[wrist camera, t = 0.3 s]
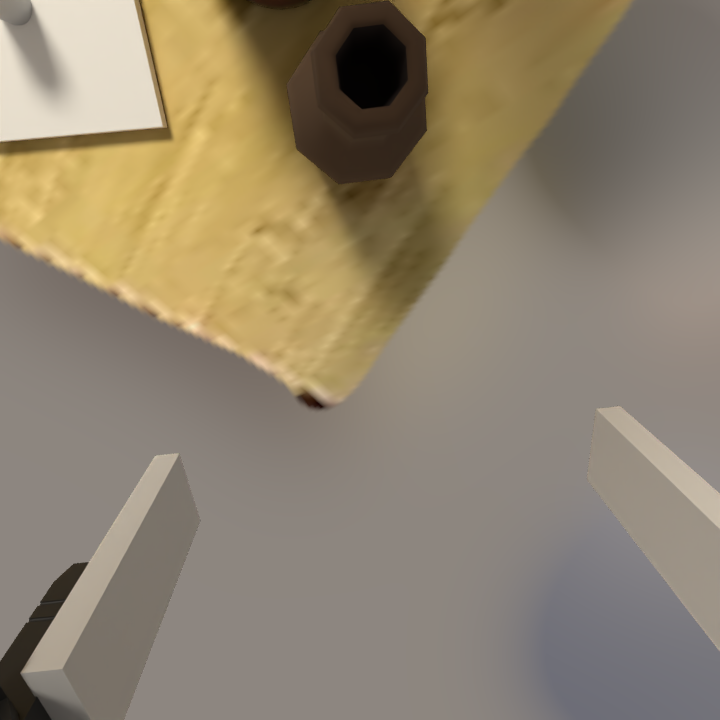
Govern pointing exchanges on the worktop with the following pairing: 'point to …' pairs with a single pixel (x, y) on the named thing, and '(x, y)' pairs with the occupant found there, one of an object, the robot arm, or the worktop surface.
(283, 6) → the vase
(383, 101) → the beer bottle
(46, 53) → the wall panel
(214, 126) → the worktop surface
